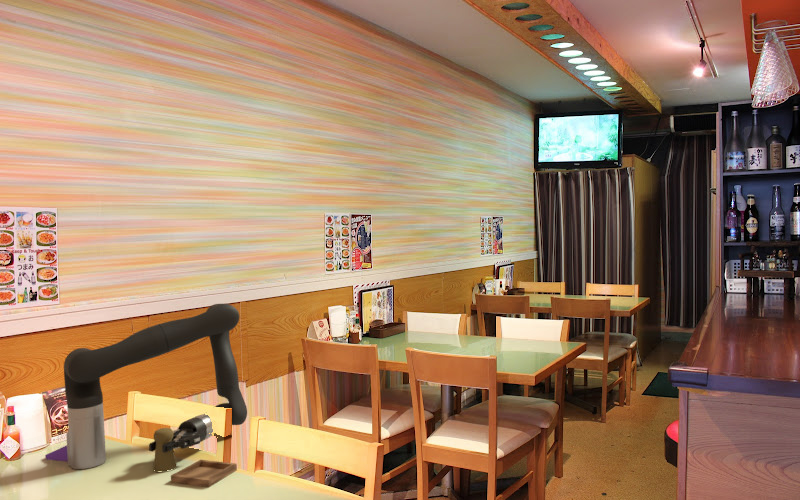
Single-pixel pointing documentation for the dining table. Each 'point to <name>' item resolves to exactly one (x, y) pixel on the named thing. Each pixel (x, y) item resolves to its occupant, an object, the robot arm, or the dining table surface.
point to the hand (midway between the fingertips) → (157, 448)
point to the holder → (204, 473)
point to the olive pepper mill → (162, 459)
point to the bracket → (58, 454)
